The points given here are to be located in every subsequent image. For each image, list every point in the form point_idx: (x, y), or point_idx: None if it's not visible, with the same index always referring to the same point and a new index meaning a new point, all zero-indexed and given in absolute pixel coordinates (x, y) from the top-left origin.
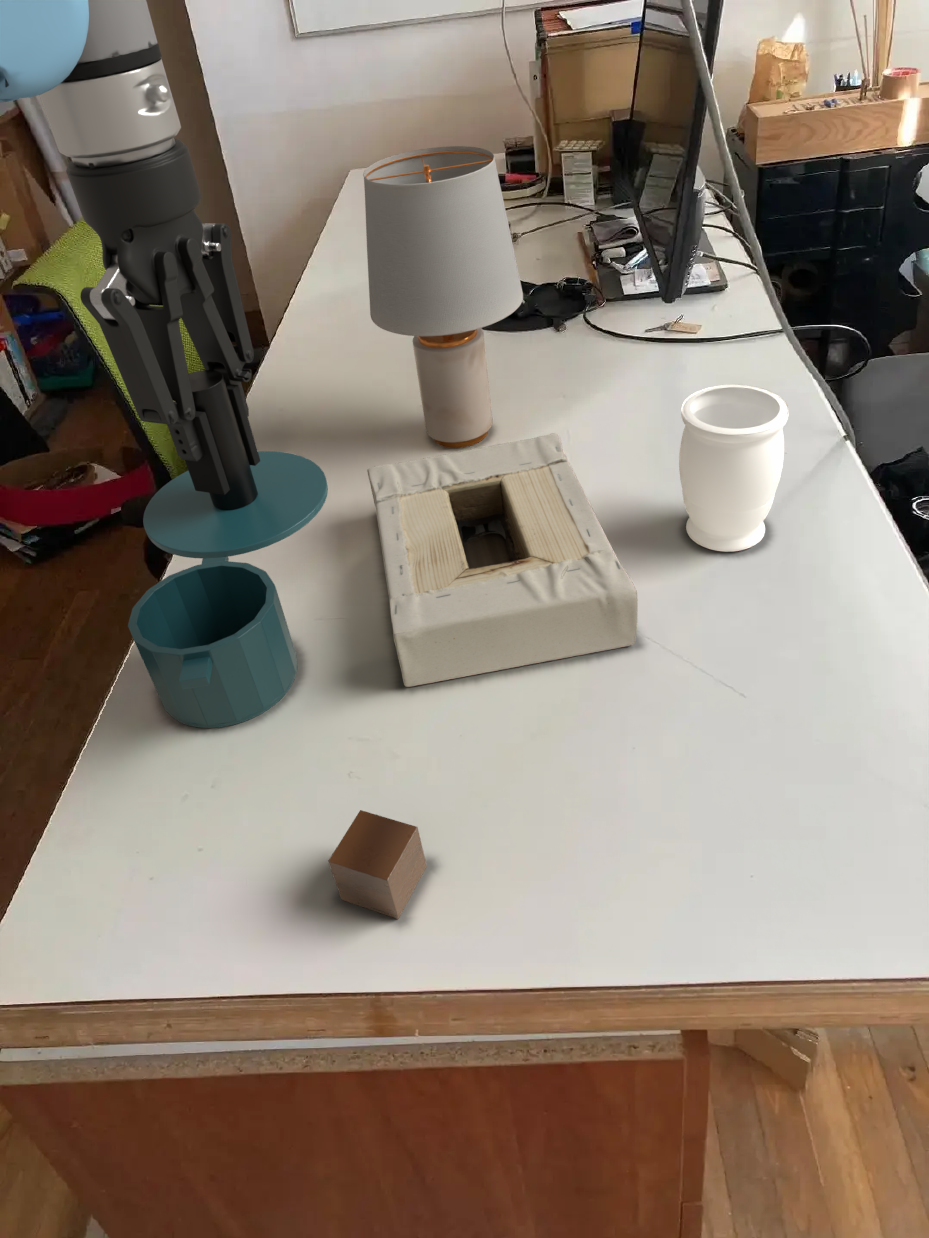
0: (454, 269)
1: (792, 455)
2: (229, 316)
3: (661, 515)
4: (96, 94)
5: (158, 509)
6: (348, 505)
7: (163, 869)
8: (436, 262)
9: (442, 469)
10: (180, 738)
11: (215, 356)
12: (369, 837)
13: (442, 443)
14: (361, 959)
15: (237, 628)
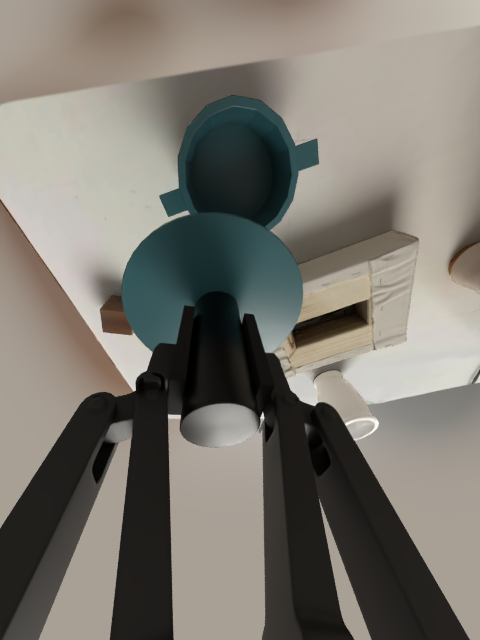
0: None
1: (370, 393)
2: (331, 513)
3: (344, 361)
4: None
5: (186, 236)
6: (413, 202)
7: (84, 201)
8: None
9: (392, 292)
10: (175, 163)
11: (268, 453)
12: (119, 320)
13: (460, 254)
14: (91, 309)
15: (274, 169)
